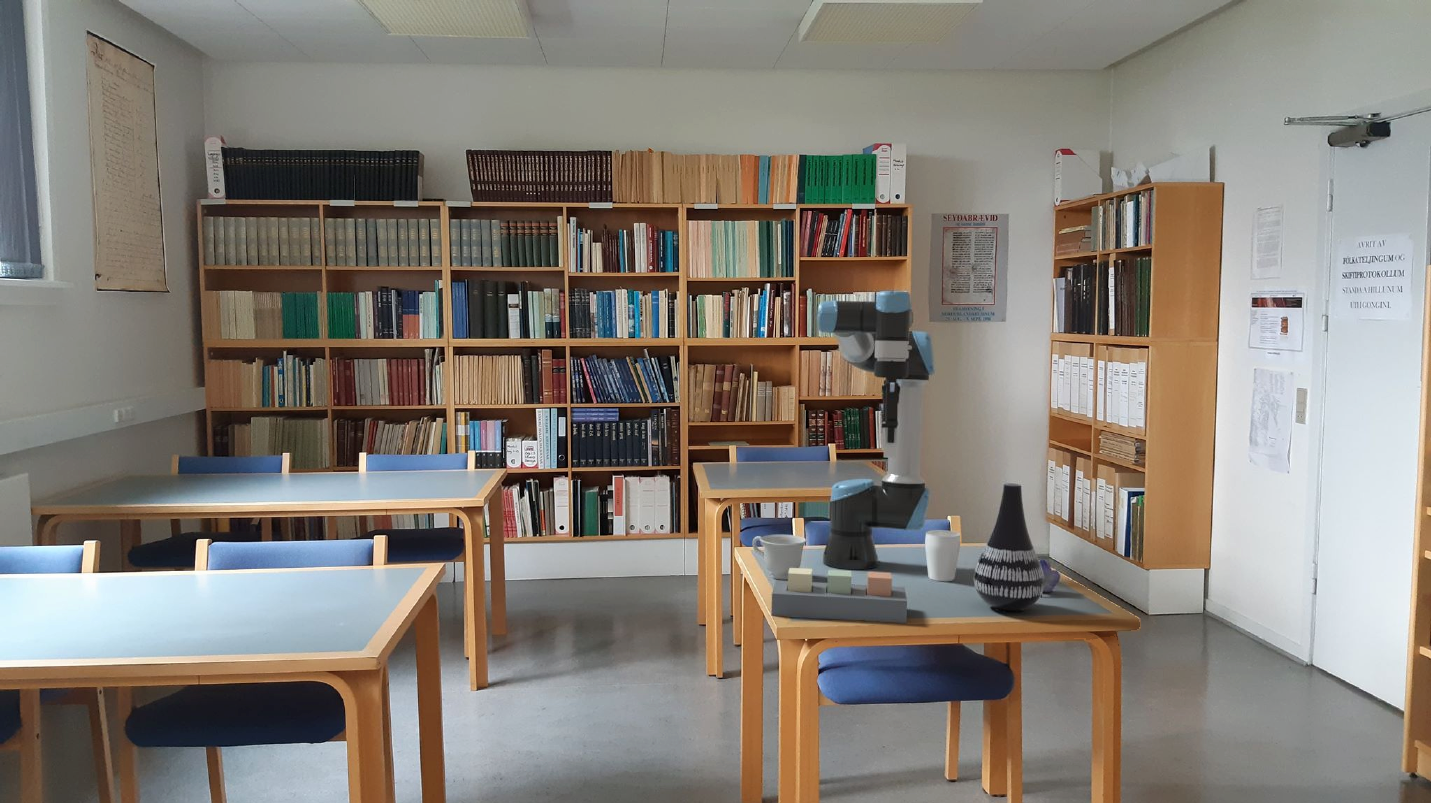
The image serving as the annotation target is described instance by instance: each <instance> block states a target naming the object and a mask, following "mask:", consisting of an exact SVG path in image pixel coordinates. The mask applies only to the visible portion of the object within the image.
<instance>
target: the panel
mask: <svg viewBox="0 0 1431 803" xmlns="http://www.w3.org/2000/svg"><path fill="white" fill-rule="evenodd" d="M827 587H828V582H817V581H815V582H814V581H812V592H798V591H788V580H781V579H776V580H775V583H774V585H773V589H772V592H771V611H770V612H771V614H770V615H771V616H775V617H776V616H777V617H793V618H794V617H795V618H811V619H812V618H813V619H831V620H843V621H844V620H848V621H860V620H865V621H864V622H877V621H879V622H880V623H883V622H884V623H895V624H896V623H899V624H907V617H908V614H907V612H908V600H907V594H906V589H905V586H892V587H891V597H890V596H871V595H867V584H856V583H855V584H852V583H851V594H835V593H827ZM879 622H878V623H879Z"/></svg>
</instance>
